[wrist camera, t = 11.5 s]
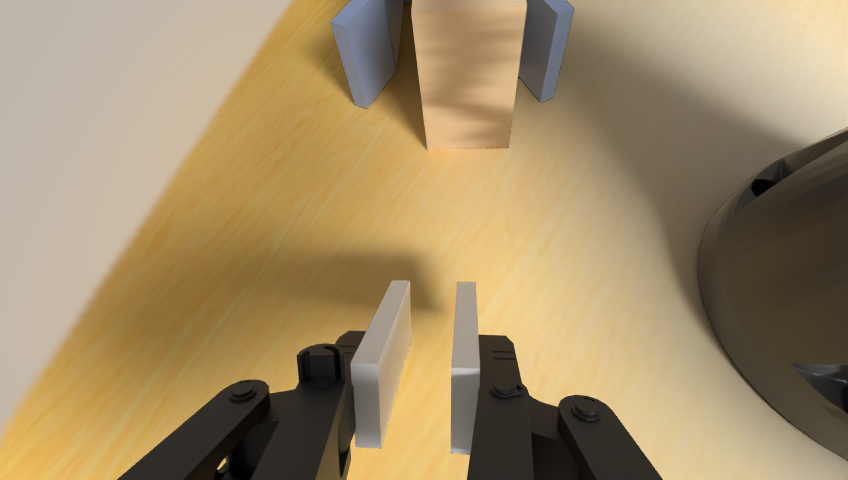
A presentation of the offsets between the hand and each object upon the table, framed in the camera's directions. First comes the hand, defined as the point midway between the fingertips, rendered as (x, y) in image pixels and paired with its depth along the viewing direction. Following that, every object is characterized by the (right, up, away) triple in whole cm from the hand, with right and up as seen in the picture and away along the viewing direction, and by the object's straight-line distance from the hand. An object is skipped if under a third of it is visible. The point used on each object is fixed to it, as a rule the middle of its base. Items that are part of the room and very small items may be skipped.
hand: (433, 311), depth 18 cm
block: (+3, +14, +11) cm, 18 cm away
